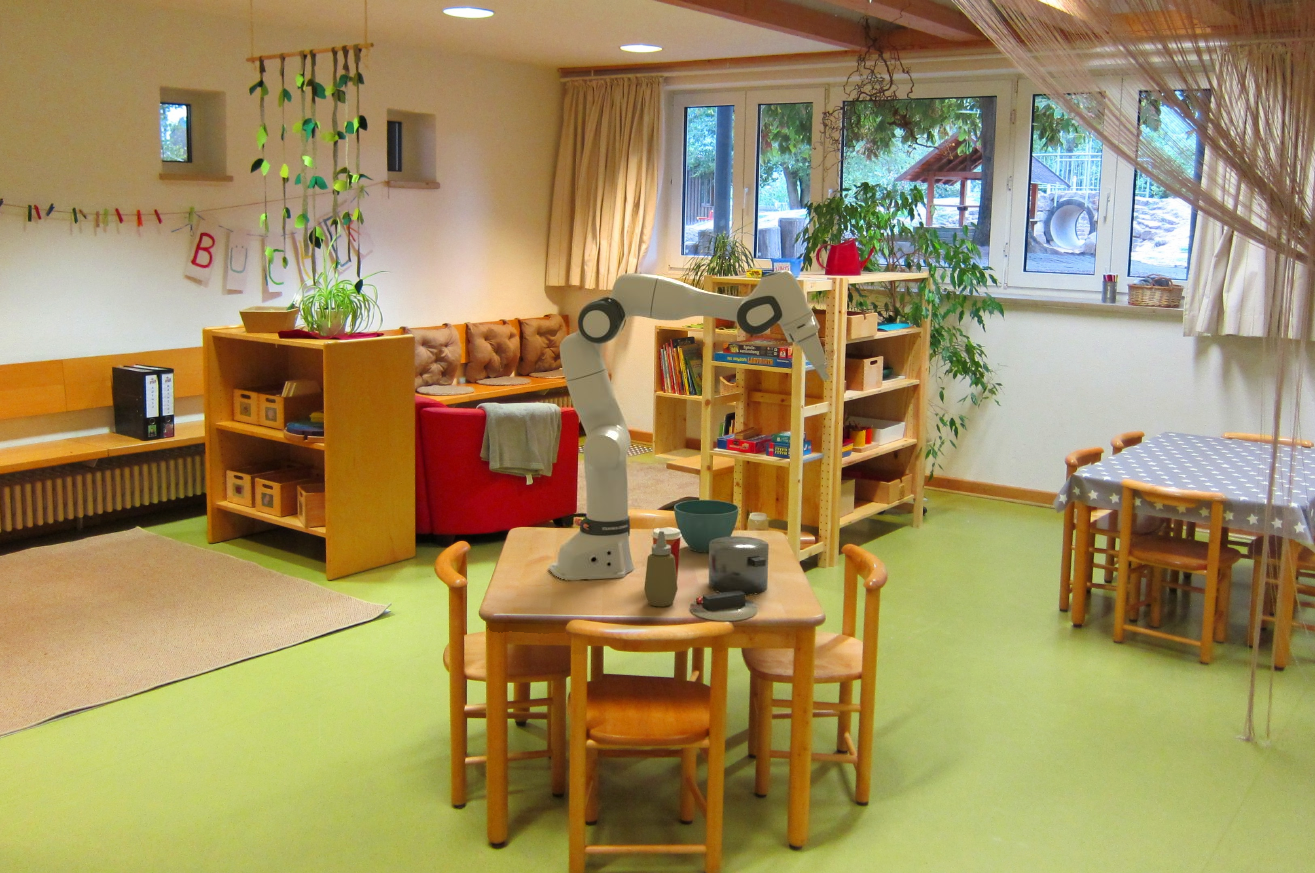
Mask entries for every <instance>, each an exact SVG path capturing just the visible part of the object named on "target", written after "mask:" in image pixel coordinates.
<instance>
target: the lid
mask: <svg viewBox="0 0 1315 873" xmlns="http://www.w3.org/2000/svg"><path fill="white" fill-rule="evenodd" d="M689 610H690V612H691V614H693V615H695V616H696V617H699V618H701V619H705V620H709V621H717V622H737V621H742V620H748V619H751V618H752V617H755V616H756V615H757V613H758V605H757V604H755V603H754V602H753V601H751V600H749V599H746V595H745V593H743V592H741V591H740V590H739V591H731V592H724V593H719V592H717V593H711V594H704V595H703V594H702V597H696V598H695V600H694V601H692V602H691V603H690V609H689Z"/></svg>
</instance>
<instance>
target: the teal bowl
mask: <svg viewBox="0 0 1315 873" xmlns="http://www.w3.org/2000/svg"><path fill="white" fill-rule="evenodd" d="M739 509H740V508H739V505H736V504H734V503H731V502H727V501H725V500H724V501H723V500H722V501H721V500H715V499H714V500H713V499H693V500H685V501H681V502H678V503H676V504H674V507H673V510H674V517H675V518H674V519H675V523H676V526H677V529H679V530H680V534H681V535H682V537H681V538H682V539H683V540H684V541H685V543H686V545H687V546H688V547H689V549H690V550H692V551H694V552H698V553H708V554H709V543H710V541H712V540H714V539H715V538H721V537H731V536H732V534H733V532H734V530H735V527H736V524H737V522H738V521H737V520H738V516H739Z"/></svg>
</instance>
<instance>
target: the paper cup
mask: <svg viewBox="0 0 1315 873" xmlns="http://www.w3.org/2000/svg"><path fill="white" fill-rule="evenodd" d="M659 531H664V534H665V539H666V544H667V545H670V546H671V553H670V554H672V555H673V556H674V557H675V566H676V577H677V579H678V577H679V576H678V575H679V564H680V562H679V561H680V549H681V538H683V537H682V535H681V534H680V530H679V529H678V527H677V528H676V527H667V526H666V527H659V528H658V527H656V528H654V529H653V532H652V534H651V537H652V544H653V545H655V544H656V543H657V539H658V534H659ZM653 545H652V546H653Z"/></svg>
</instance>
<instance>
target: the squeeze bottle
mask: <svg viewBox="0 0 1315 873" xmlns="http://www.w3.org/2000/svg"><path fill="white" fill-rule="evenodd" d="M670 553H671V546H670V545H667V544H666V539H665V534H664V531H659V534H658V539H657V543H656V544H655V545H652V546H651V553H650V554H648V556H647V561H646V568H645V569H646V570H645V578H644V579H645V580H644V588H643V590H644V592H645V595H646V599H647V601H648V604H649V605H650V606H653V607H668V606H669V607H670V606H671V605H673V603H674V601H675V598H676V595H677V591H678V578H677V577H676V566H675V557H674V556H673V555H672V554H670Z"/></svg>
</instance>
